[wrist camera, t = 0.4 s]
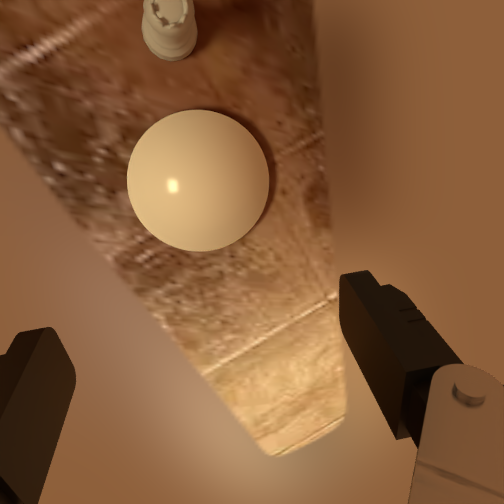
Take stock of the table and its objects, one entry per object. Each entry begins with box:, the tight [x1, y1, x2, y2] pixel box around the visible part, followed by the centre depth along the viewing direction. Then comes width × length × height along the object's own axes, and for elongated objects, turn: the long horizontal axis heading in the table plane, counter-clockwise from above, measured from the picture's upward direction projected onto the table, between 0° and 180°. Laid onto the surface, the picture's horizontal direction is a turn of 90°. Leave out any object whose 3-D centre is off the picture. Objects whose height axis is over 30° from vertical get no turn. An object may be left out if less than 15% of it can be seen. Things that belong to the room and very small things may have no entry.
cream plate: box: [127, 110, 269, 251], centre depth 35 cm, size 13×13×1 cm
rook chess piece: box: [142, 0, 198, 61], centre depth 27 cm, size 4×4×8 cm
